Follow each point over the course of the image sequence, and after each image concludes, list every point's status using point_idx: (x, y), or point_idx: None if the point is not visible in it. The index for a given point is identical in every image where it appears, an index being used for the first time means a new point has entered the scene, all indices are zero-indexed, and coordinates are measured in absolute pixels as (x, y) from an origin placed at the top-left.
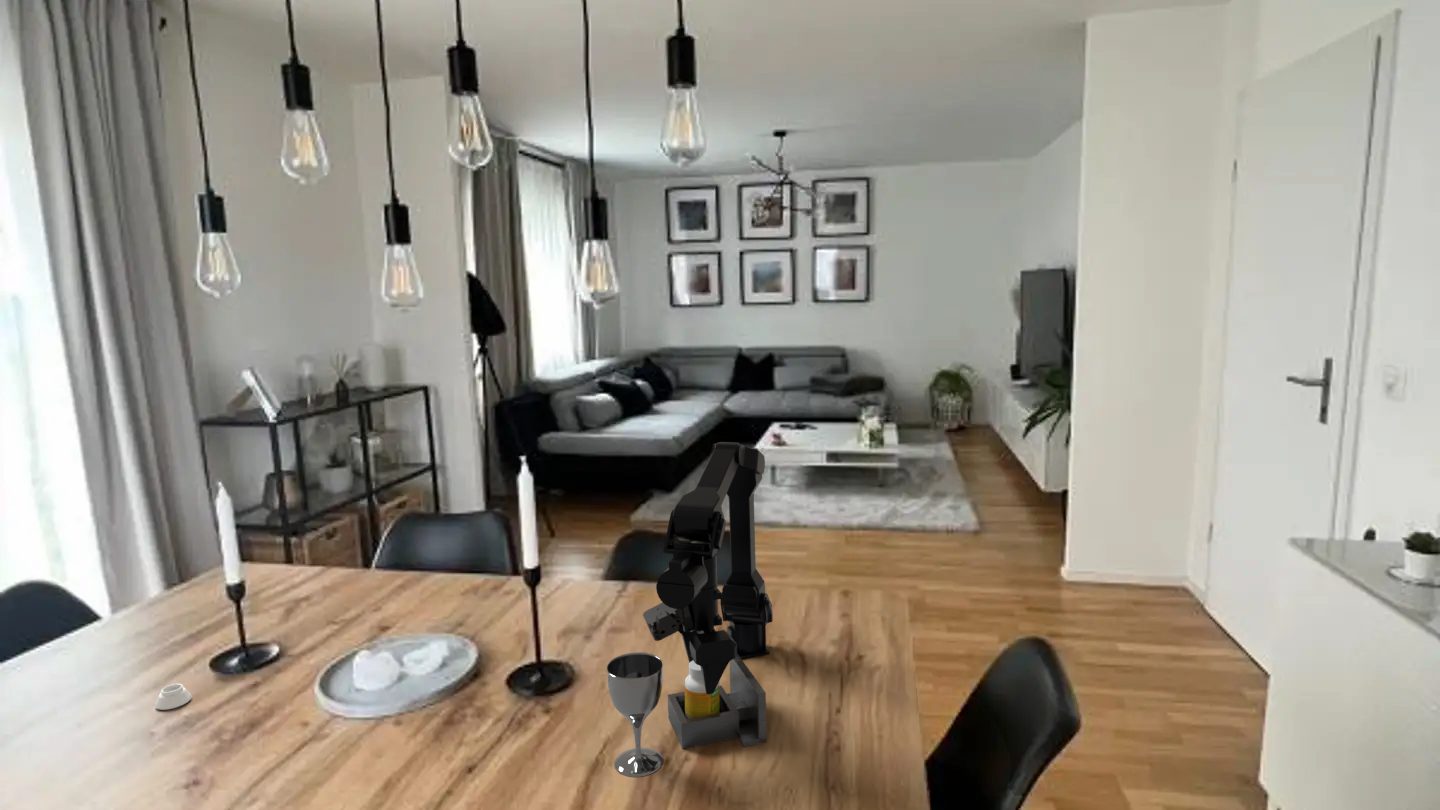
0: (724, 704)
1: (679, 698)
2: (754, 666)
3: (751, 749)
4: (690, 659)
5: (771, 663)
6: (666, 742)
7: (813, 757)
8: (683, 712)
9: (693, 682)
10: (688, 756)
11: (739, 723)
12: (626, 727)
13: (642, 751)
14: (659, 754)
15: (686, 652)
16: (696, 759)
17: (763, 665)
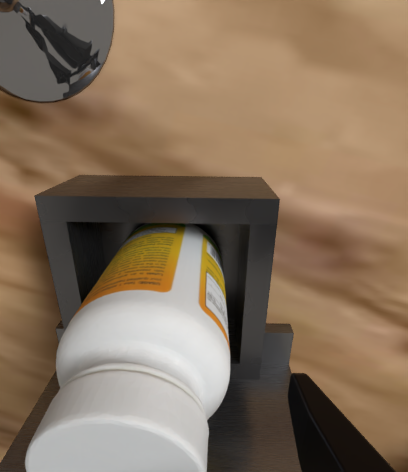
0: None
1: (247, 236)
2: (400, 435)
3: (48, 329)
4: (305, 414)
5: (389, 462)
6: (126, 136)
7: (4, 413)
8: (240, 228)
9: (87, 346)
10: (39, 182)
11: None
12: (266, 5)
13: (59, 27)
14: (54, 94)
15: (362, 441)
16: (21, 199)
17: (391, 449)
